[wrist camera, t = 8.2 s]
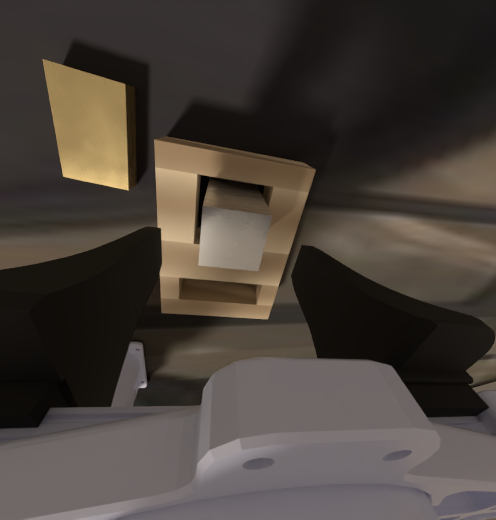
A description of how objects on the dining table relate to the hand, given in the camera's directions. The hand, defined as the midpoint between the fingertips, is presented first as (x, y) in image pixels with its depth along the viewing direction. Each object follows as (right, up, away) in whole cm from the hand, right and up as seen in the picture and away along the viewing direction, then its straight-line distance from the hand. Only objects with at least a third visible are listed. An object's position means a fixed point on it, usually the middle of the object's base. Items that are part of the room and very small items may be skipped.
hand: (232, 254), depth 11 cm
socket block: (-1, +2, +8) cm, 9 cm away
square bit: (-1, +4, +7) cm, 8 cm away
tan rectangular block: (-9, +8, +4) cm, 13 cm away
